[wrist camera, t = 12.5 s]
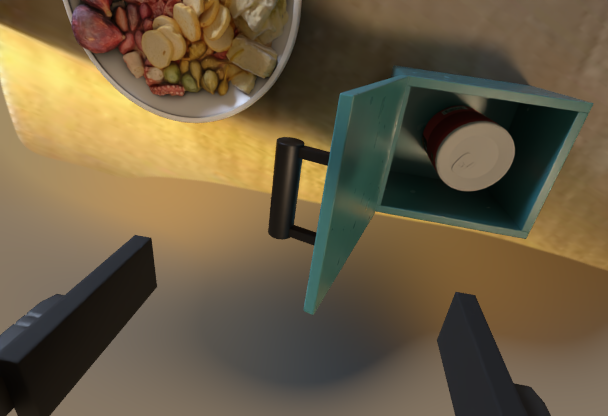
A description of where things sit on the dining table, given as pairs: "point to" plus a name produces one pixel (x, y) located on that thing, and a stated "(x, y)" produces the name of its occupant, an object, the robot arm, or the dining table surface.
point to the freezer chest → (508, 114)
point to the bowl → (188, 51)
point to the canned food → (467, 148)
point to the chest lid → (339, 179)
